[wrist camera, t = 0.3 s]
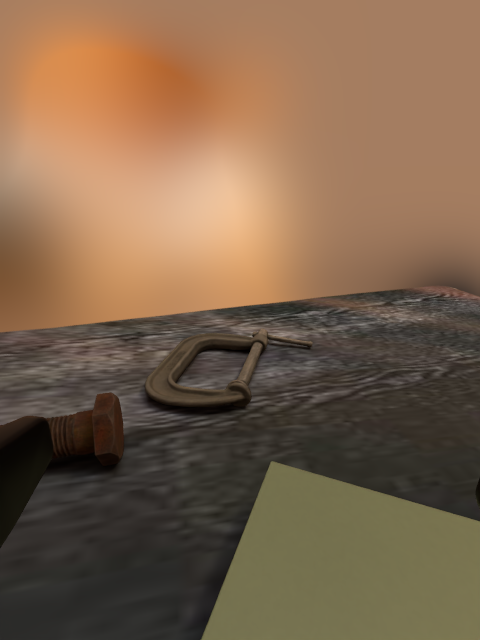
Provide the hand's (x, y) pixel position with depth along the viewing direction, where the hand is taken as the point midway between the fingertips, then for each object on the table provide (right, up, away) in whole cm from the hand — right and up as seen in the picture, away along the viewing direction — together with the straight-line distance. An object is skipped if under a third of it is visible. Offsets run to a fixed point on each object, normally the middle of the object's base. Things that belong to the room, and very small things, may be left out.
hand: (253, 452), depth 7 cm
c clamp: (-1, -4, +36) cm, 36 cm away
